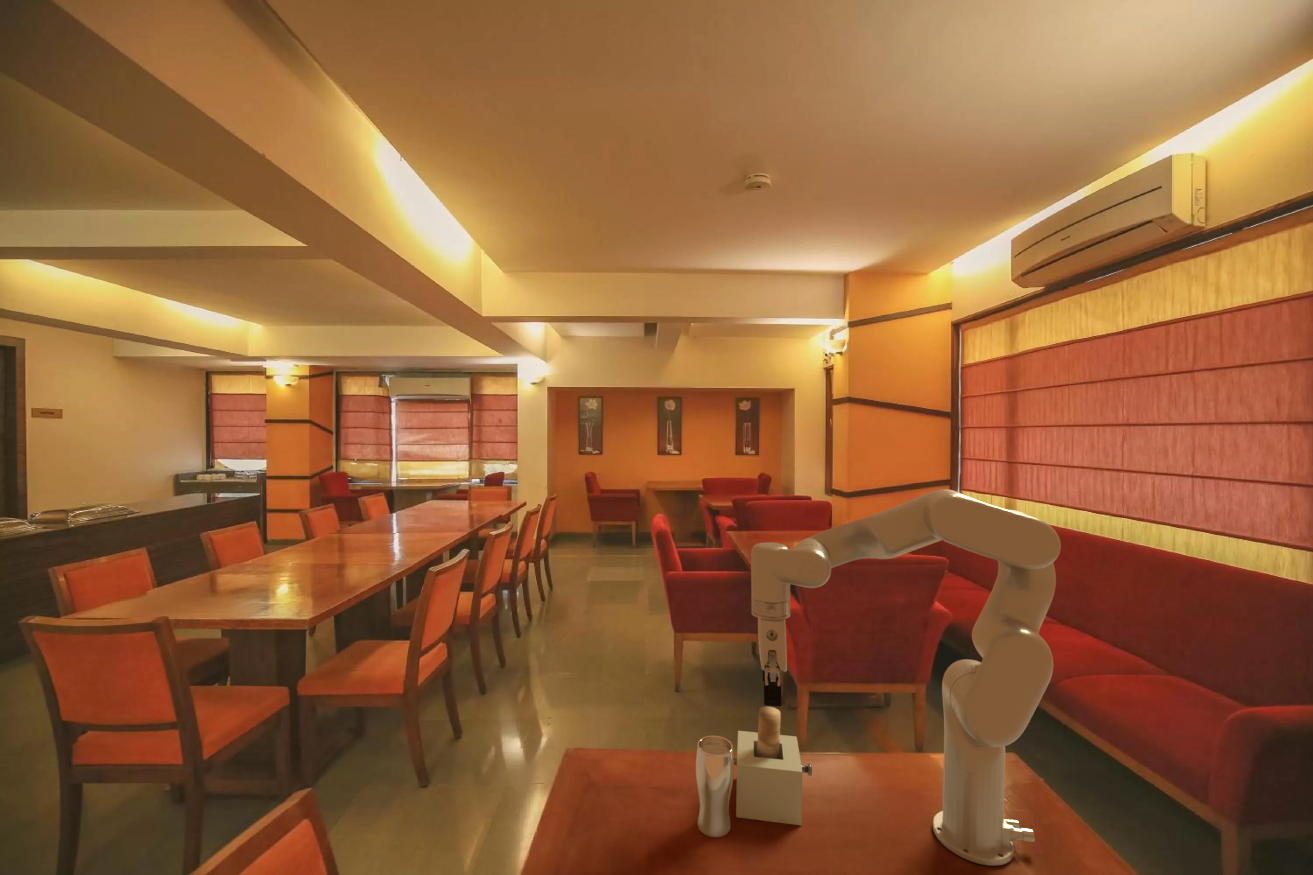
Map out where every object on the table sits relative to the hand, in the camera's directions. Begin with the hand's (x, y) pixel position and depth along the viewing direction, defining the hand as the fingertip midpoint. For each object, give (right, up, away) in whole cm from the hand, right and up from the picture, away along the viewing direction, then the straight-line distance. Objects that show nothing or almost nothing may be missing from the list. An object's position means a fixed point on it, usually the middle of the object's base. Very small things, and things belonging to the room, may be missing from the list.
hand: (771, 693), depth 108 cm
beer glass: (-12, -22, -7) cm, 26 cm away
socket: (-1, -21, 0) cm, 21 cm away
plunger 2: (+4, -16, -1) cm, 16 cm away
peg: (-1, -14, 0) cm, 14 cm away
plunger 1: (-6, -15, +1) cm, 17 cm away
